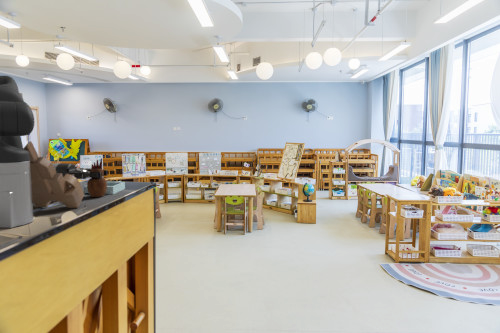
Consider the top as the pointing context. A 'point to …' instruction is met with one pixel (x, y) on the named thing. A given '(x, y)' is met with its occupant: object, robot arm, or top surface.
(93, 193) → the wooden figurine
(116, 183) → the pale teal tray
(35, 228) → the top surface
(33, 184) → the wooden toy
